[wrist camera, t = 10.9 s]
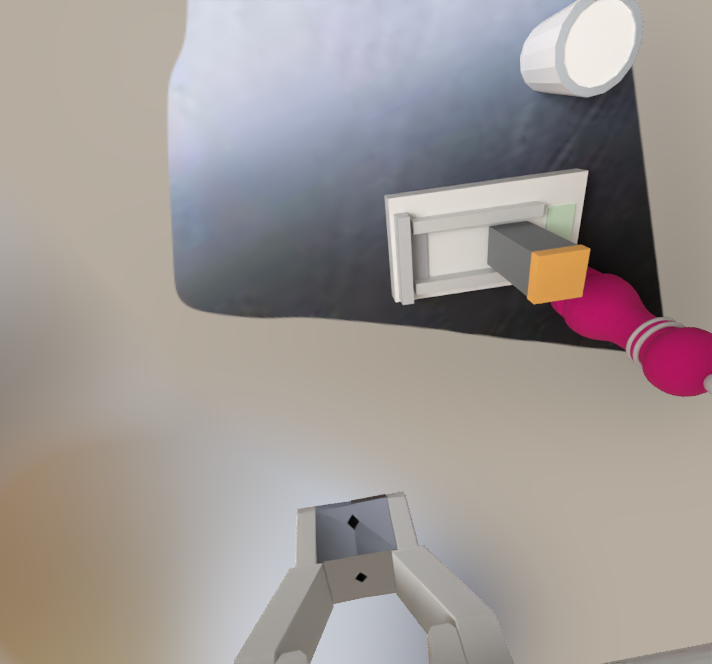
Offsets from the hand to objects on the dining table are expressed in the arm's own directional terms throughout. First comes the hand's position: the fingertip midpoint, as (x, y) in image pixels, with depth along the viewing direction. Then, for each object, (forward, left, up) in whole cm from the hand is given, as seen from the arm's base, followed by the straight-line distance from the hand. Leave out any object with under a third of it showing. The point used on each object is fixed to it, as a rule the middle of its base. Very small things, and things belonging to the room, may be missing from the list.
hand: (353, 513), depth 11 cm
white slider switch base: (+4, +17, -34) cm, 38 cm away
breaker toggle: (+4, +19, -32) cm, 37 cm away
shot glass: (-12, +23, -34) cm, 43 cm away
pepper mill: (+12, +29, -34) cm, 46 cm away
